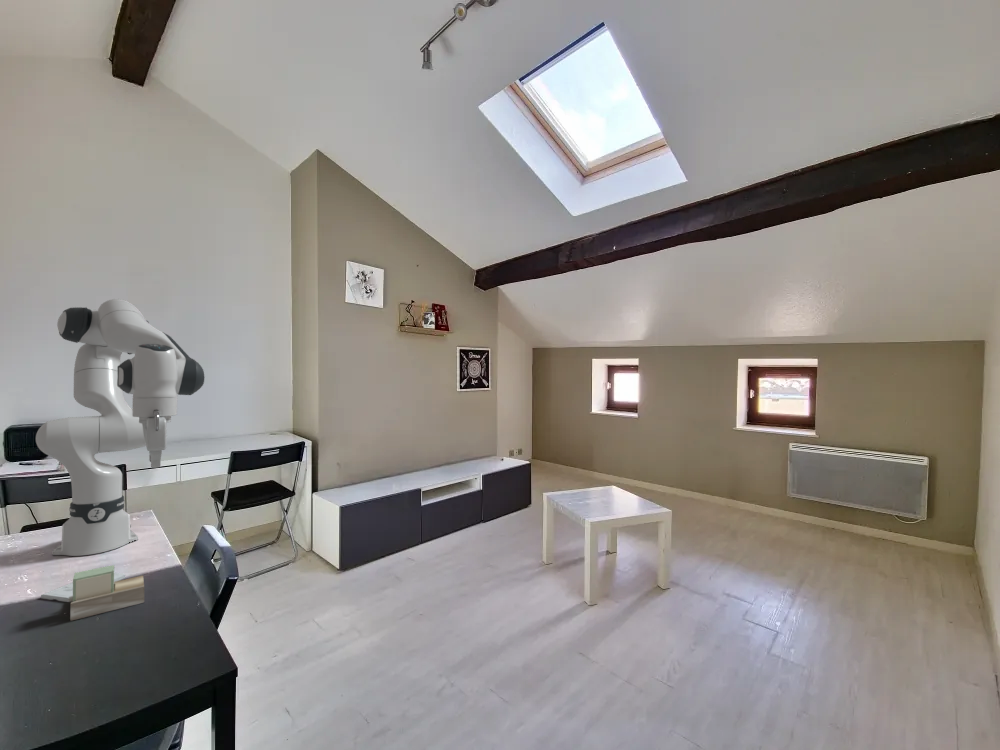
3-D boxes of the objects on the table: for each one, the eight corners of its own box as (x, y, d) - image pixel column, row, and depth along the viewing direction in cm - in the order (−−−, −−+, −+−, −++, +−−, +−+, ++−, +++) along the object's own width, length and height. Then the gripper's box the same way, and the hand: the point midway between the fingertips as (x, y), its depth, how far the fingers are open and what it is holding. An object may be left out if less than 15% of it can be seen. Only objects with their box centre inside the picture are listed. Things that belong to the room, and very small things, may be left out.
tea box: (74, 600, 96) (74, 573, 96) (113, 591, 101) (114, 564, 101) (72, 608, 93) (72, 579, 93) (113, 598, 97) (113, 571, 97)
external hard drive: (125, 580, 112) (68, 604, 100) (99, 576, 113) (40, 600, 101) (125, 573, 112) (68, 597, 100) (99, 570, 113) (40, 593, 101)
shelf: (75, 598, 101) (75, 583, 101) (143, 583, 109) (143, 568, 109) (70, 621, 92) (70, 603, 92) (144, 602, 100) (144, 586, 100)
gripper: (174, 410, 104) (173, 469, 104) (168, 406, 120) (167, 457, 120) (139, 412, 100) (139, 473, 100) (138, 407, 116) (137, 459, 116)
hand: (154, 464), depth 110 cm, fingers open, 8 cm apart
